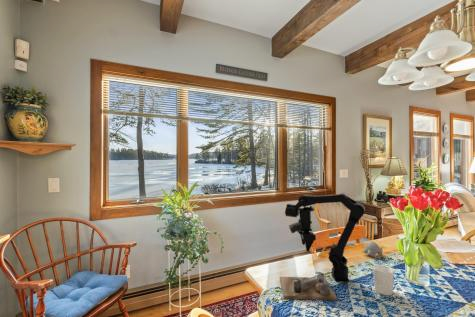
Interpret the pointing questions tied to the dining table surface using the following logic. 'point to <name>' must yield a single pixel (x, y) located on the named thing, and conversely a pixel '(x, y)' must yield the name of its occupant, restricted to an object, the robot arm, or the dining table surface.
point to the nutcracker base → (307, 290)
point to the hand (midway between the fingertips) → (305, 247)
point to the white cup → (383, 279)
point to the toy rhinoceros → (372, 249)
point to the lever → (308, 282)
